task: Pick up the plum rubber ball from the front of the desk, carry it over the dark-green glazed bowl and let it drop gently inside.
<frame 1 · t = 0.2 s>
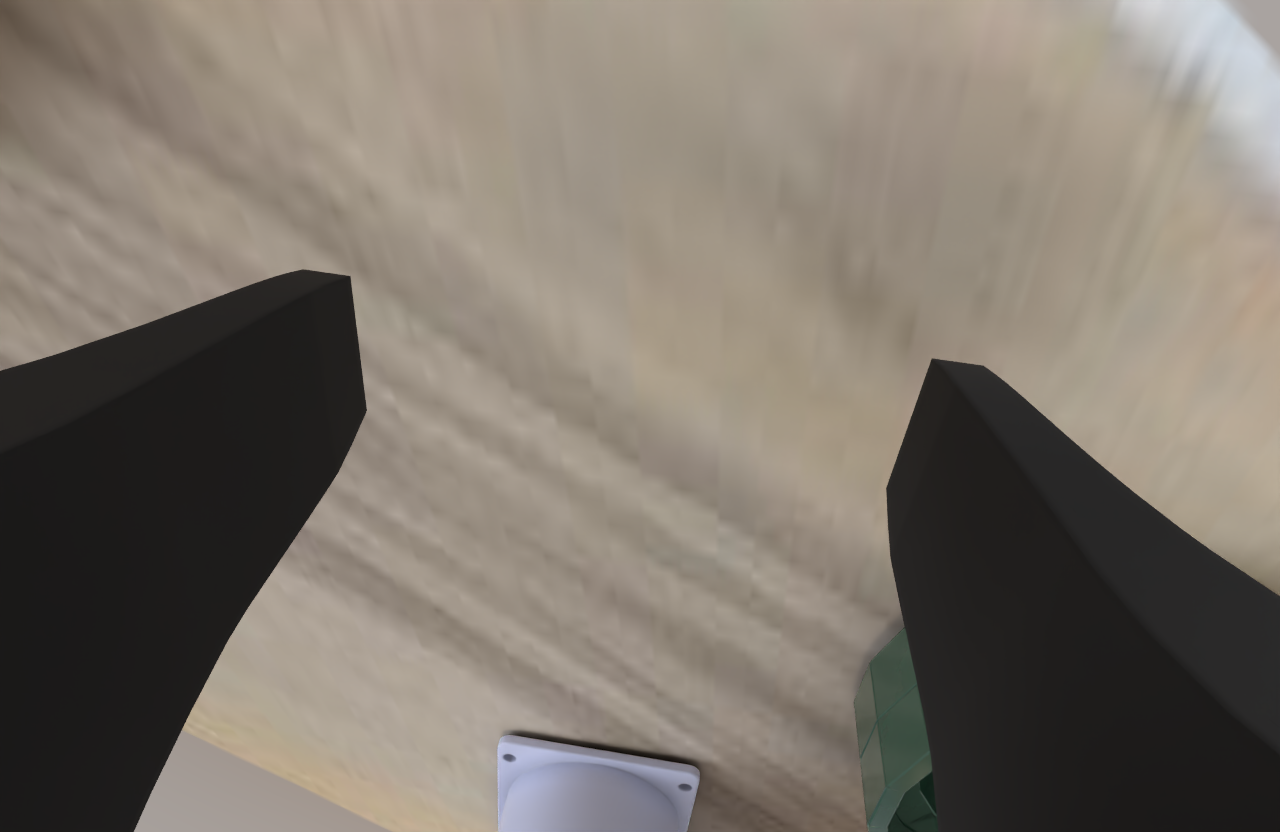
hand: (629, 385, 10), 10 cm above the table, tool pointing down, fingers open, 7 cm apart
bowl: (1056, 697, 28), on the table
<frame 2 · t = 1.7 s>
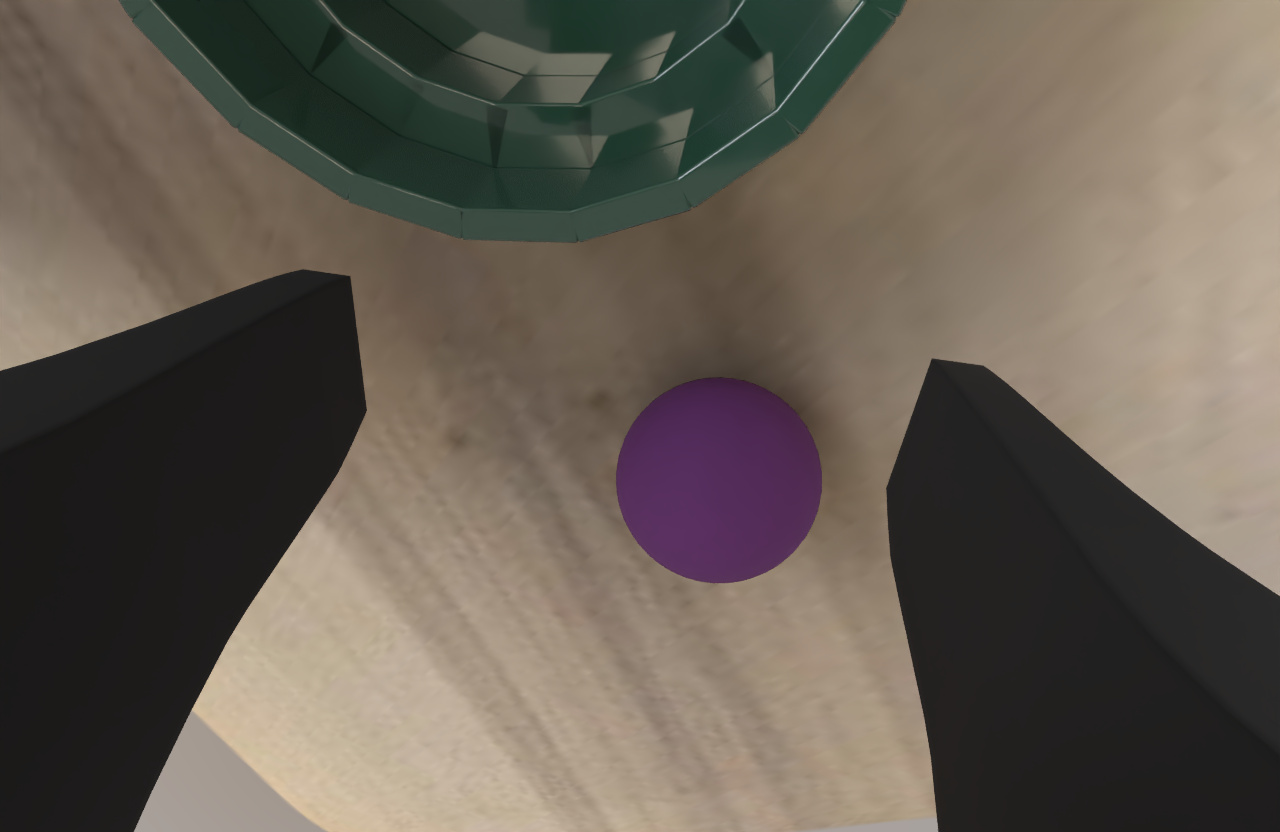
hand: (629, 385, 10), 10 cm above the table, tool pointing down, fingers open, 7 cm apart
ball: (717, 479, 20), point 2 cm above the table
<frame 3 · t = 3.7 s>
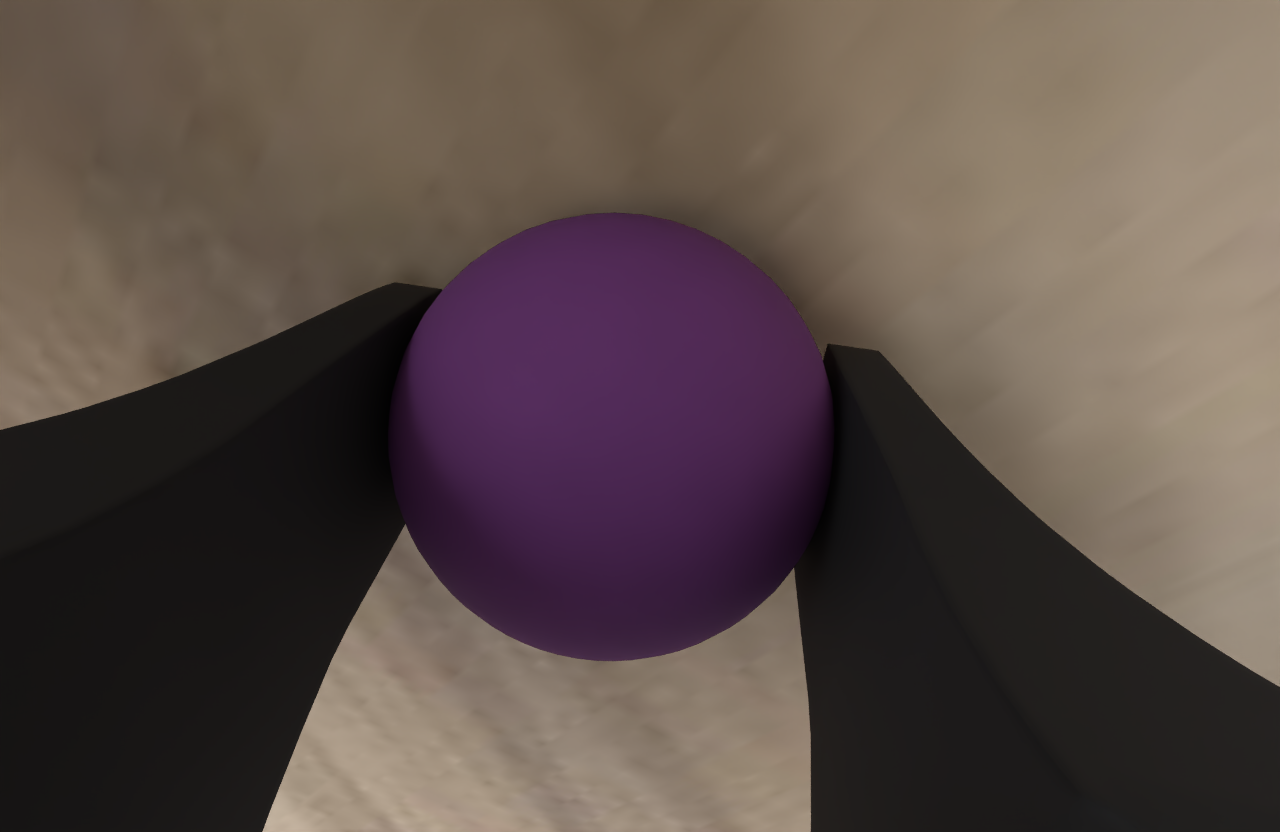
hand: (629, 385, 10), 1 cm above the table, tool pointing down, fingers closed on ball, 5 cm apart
ball: (613, 435, 9), point 2 cm above the table, touching gripper
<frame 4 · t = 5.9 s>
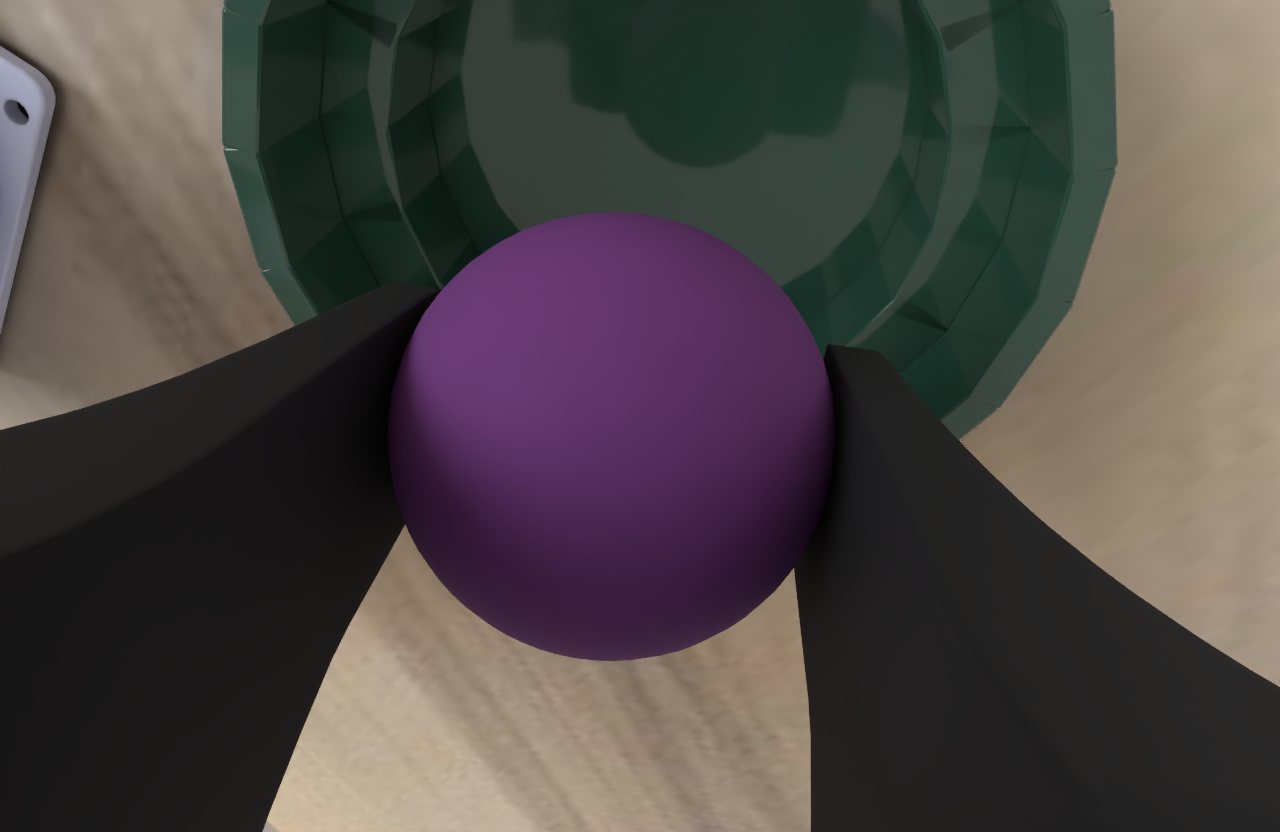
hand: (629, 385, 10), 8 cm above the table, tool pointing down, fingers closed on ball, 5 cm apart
ball: (613, 434, 9), point 9 cm above the table, touching gripper
bowl: (672, 131, 17), on the table
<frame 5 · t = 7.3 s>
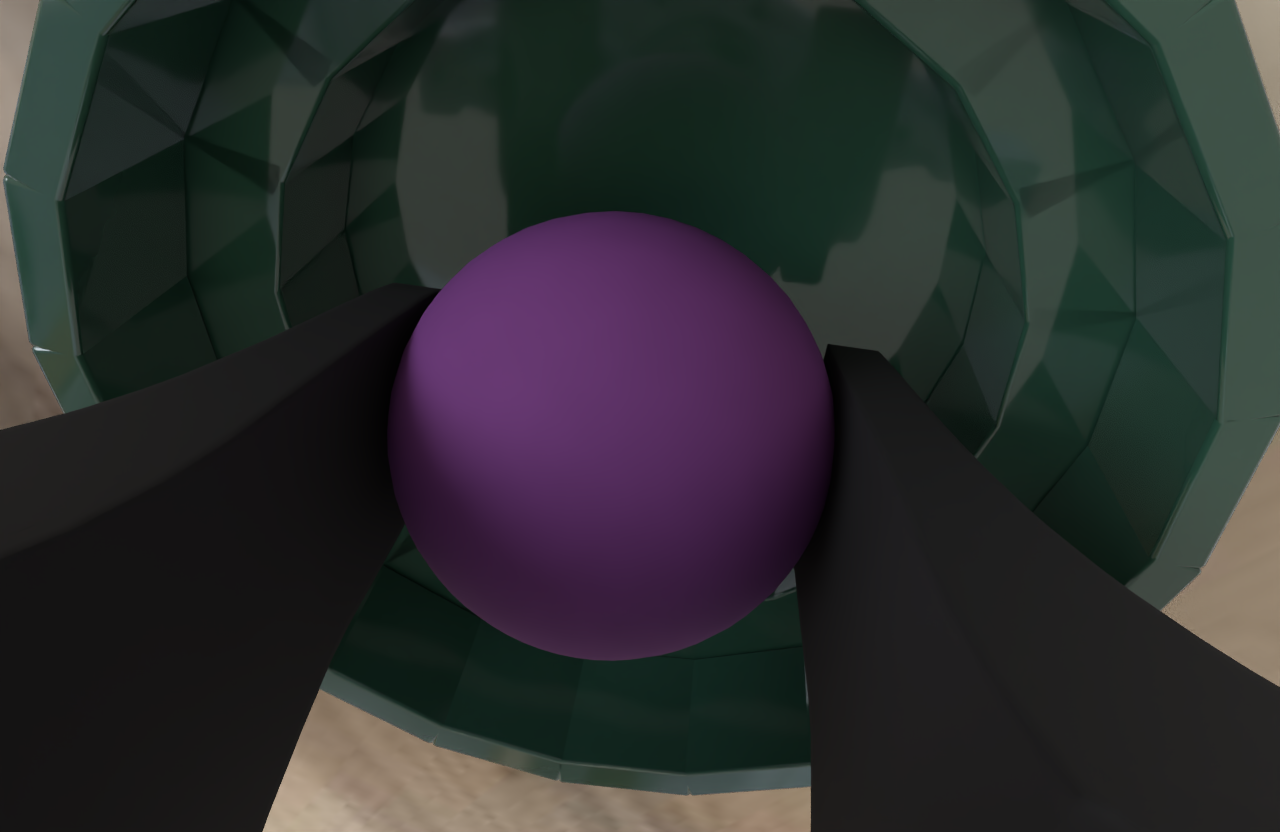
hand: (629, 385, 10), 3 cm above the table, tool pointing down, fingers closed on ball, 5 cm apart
ball: (613, 434, 9), point 5 cm above the table, touching gripper
bowl: (656, 268, 13), on the table
when the fingers open (2 cm above the table, at t = 8.3 s): ball stays where it is, resting on bowl.
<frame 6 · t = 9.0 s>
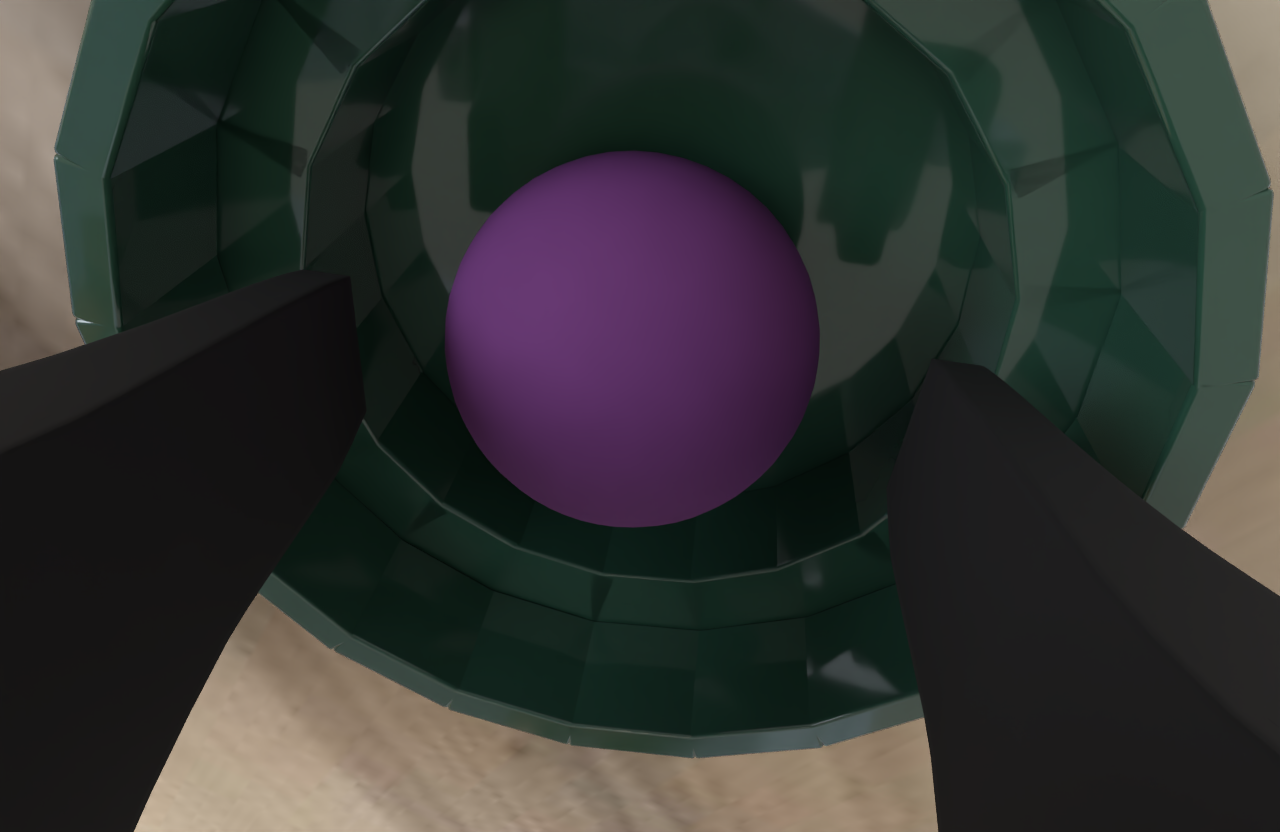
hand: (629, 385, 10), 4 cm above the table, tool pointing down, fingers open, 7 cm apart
ball: (632, 342, 11), point 3 cm above the table, touching bowl
bowl: (663, 252, 14), on the table
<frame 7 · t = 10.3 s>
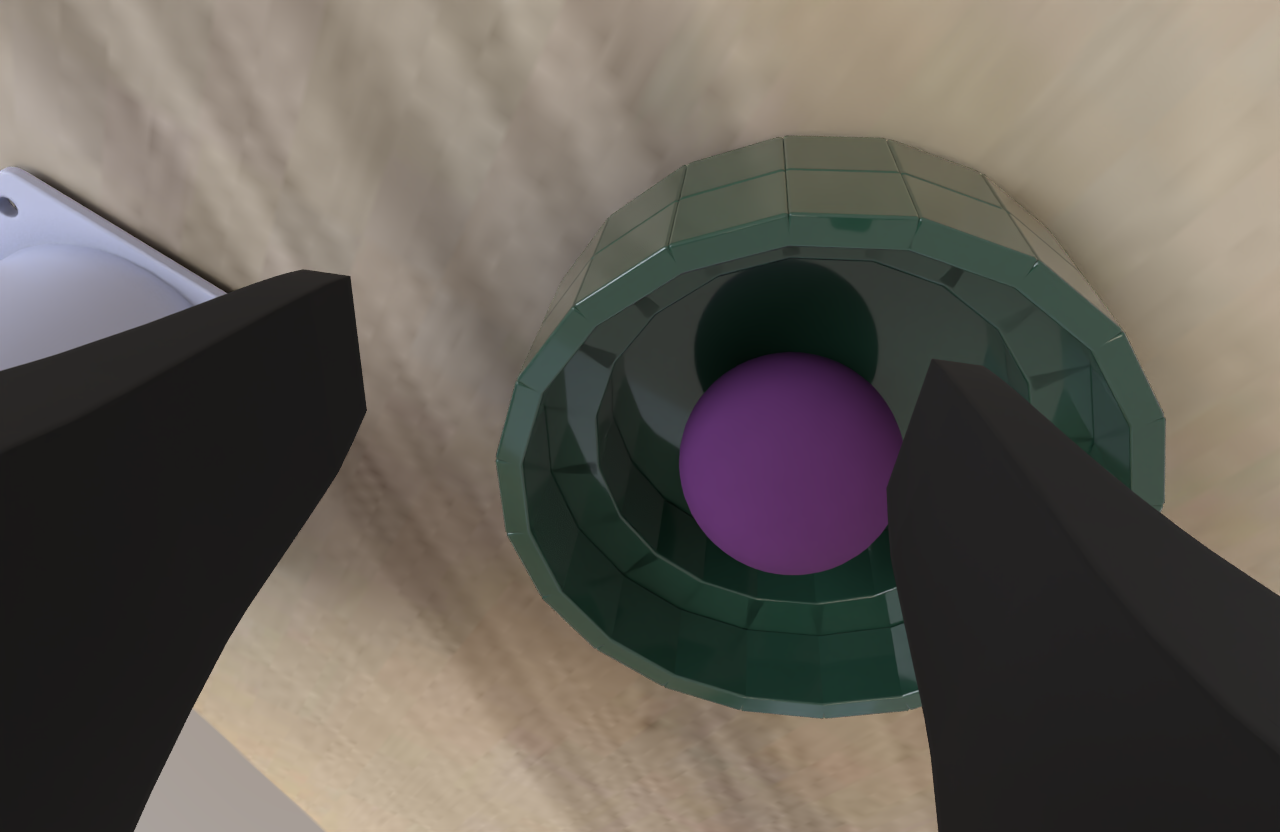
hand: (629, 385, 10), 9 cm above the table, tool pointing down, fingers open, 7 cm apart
ball: (789, 462, 19), point 3 cm above the table, tilted 8°, touching bowl
bowl: (800, 389, 21), on the table
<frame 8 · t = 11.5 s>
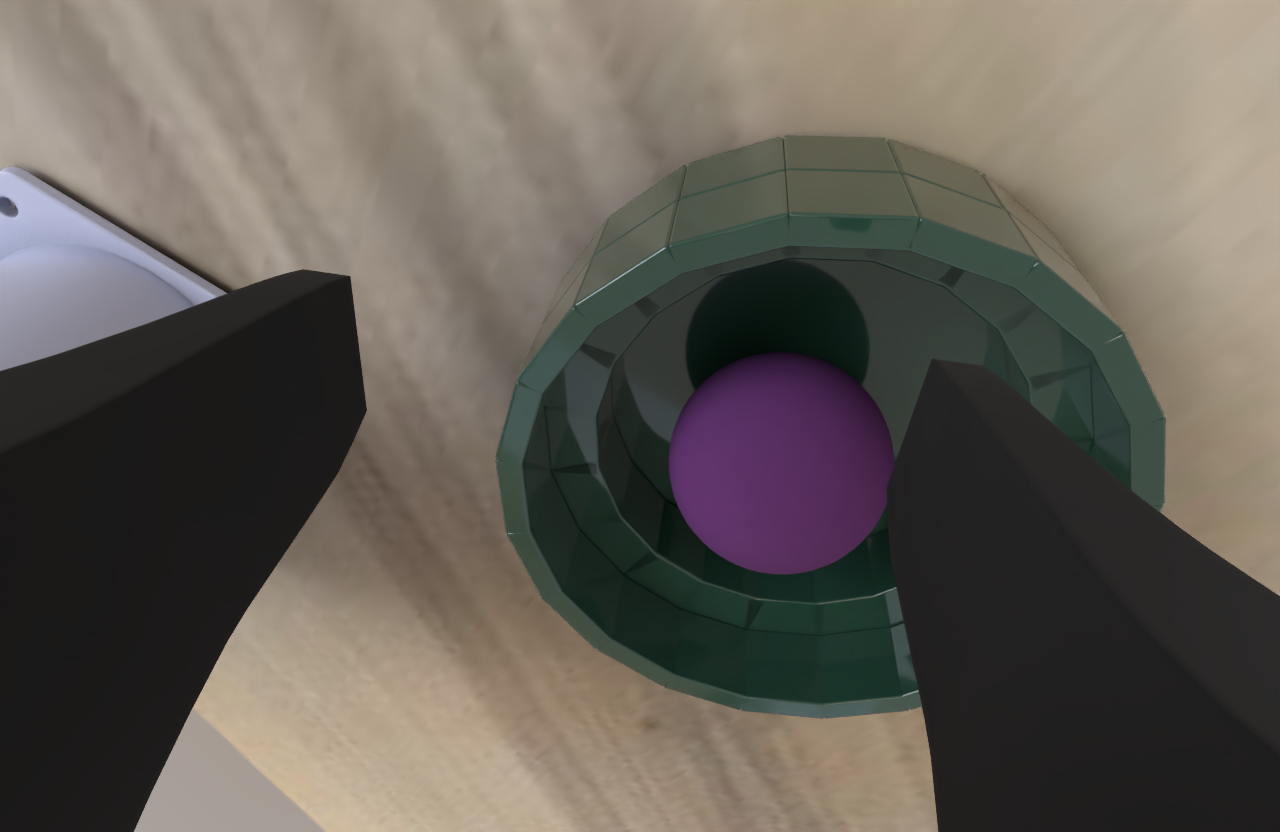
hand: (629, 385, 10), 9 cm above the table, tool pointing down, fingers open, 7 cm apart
ball: (778, 462, 19), point 3 cm above the table, tilted 14°, touching bowl
bowl: (800, 389, 21), on the table
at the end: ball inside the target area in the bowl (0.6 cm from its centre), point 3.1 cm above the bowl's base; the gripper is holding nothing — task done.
